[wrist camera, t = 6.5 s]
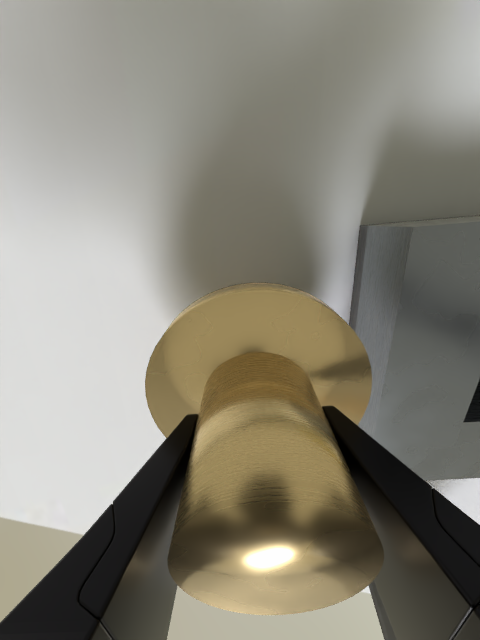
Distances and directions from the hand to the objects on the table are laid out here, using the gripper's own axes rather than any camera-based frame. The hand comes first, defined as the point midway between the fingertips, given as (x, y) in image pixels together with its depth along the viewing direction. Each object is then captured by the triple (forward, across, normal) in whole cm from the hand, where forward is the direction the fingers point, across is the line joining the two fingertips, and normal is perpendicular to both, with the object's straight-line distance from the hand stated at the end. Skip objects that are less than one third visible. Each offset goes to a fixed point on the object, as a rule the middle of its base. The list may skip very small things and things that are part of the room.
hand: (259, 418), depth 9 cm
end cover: (+5, 0, 0) cm, 5 cm away
